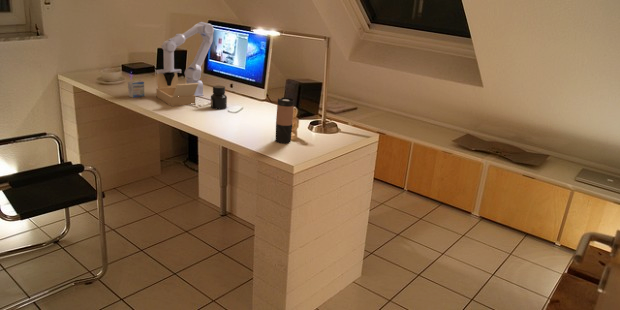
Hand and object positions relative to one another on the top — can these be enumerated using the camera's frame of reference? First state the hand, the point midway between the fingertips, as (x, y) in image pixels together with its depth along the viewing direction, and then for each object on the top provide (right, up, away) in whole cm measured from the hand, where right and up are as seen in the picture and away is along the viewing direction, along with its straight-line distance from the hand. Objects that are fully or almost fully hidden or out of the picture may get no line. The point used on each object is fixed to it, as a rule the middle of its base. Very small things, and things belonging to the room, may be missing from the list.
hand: (169, 85), depth 283 cm
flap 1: (-1, +4, 0) cm, 4 cm away
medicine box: (-18, -7, -3) cm, 20 cm away
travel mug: (+70, -34, -57) cm, 97 cm away
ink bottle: (+31, -14, -11) cm, 36 cm away
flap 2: (+14, -5, -17) cm, 23 cm away
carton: (+5, -9, -4) cm, 12 cm away
